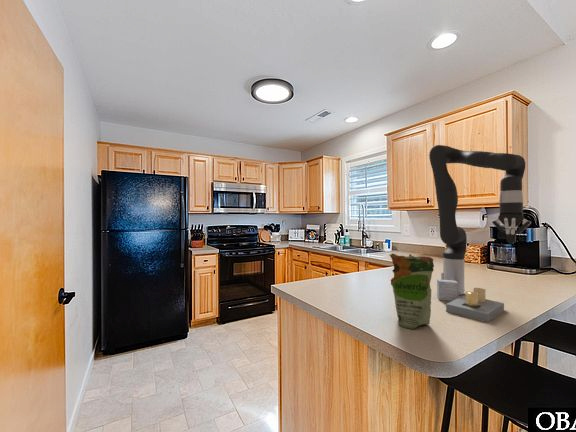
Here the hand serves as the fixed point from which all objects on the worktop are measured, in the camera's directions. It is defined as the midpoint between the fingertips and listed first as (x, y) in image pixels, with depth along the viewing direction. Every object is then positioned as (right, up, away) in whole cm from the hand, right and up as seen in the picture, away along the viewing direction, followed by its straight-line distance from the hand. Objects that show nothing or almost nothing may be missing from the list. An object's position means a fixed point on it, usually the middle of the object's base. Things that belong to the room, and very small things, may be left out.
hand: (511, 243), depth 112 cm
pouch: (-50, -27, -18) cm, 59 cm away
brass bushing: (-21, -27, -6) cm, 35 cm away
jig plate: (-18, -27, -4) cm, 32 cm away
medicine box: (-20, -27, +11) cm, 36 cm away
